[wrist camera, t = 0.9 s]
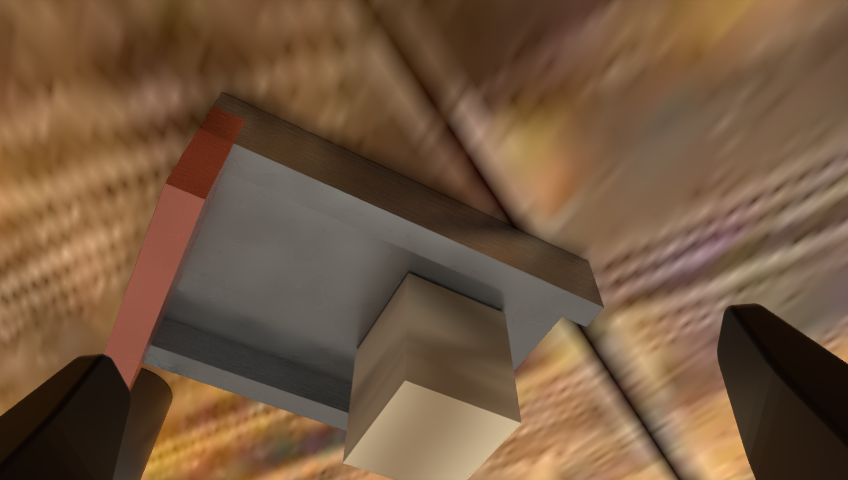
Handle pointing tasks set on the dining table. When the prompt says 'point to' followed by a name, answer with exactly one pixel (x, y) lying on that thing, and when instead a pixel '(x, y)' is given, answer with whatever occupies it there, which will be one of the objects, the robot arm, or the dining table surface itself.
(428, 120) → the dining table surface
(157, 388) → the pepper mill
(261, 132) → the grey open tray
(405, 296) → the block
